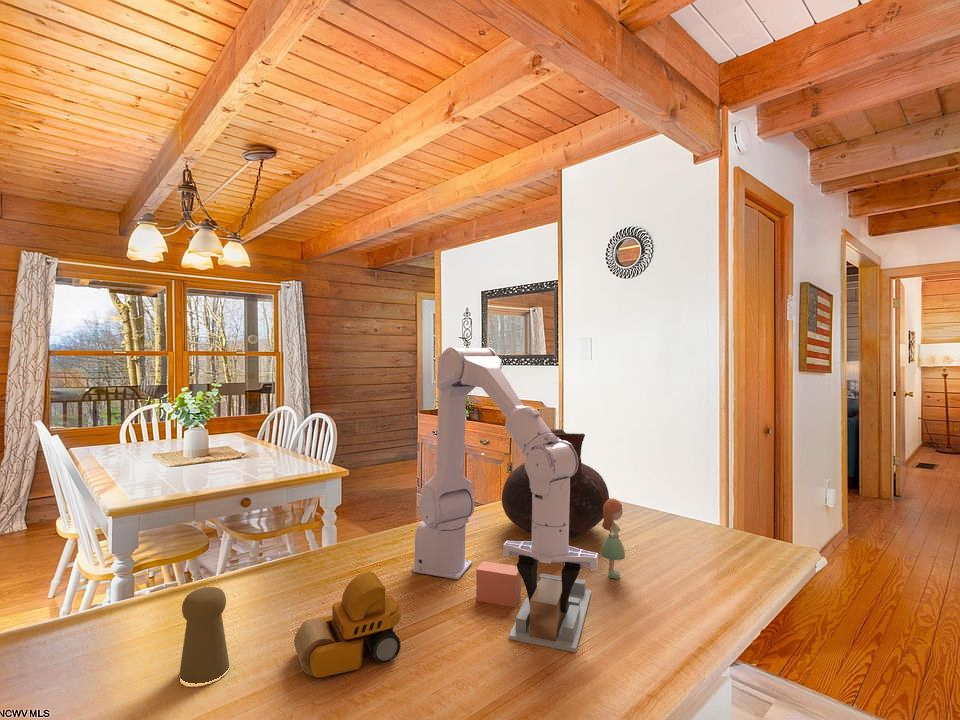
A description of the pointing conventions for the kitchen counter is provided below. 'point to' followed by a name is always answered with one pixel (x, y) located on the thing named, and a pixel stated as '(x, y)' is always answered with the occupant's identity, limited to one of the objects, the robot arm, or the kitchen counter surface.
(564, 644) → the jig
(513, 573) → the pink block
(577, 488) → the jug
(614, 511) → the toy
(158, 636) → the kitchen counter surface
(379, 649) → the toy road roller
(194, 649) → the brown pawn figure
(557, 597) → the small taupe brick
